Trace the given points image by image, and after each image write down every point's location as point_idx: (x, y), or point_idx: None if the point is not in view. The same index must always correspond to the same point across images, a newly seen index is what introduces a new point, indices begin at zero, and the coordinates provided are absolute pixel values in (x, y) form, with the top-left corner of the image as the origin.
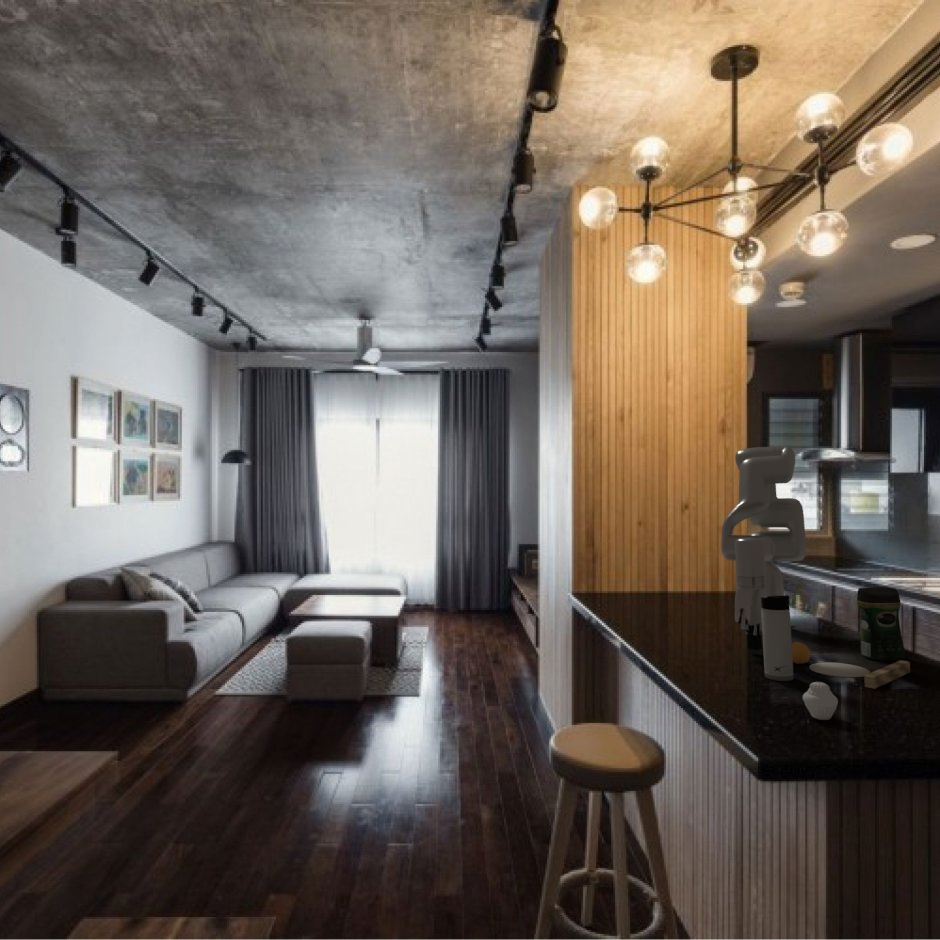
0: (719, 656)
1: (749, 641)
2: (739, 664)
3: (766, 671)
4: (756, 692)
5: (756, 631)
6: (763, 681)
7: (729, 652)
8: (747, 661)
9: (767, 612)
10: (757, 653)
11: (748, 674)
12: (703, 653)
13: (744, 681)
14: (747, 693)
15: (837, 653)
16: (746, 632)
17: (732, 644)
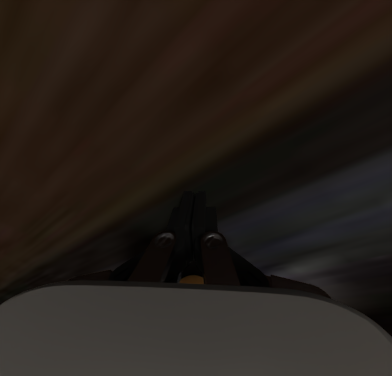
0: (80, 141)
1: (171, 219)
2: (82, 221)
3: None
4: (19, 291)
5: (174, 282)
6: (57, 281)
7: (152, 128)
8: (119, 219)
9: None
10: (213, 195)
11: (56, 259)
12: (43, 61)
13: (27, 269)
14: (5, 287)
15: (335, 290)
16: (153, 242)
17: (308, 17)
